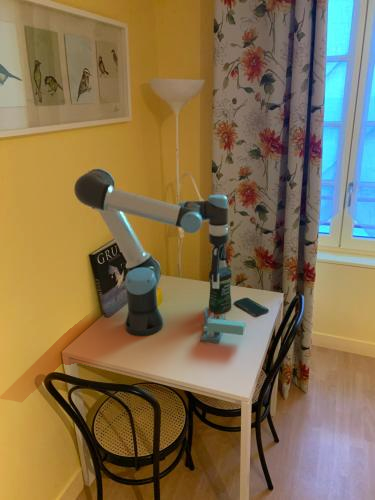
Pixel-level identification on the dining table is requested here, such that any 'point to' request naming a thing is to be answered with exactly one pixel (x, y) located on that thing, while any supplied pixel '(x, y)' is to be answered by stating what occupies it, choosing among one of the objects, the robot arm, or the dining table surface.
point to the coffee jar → (221, 292)
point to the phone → (251, 307)
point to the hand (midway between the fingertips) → (219, 281)
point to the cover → (225, 326)
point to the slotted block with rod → (209, 335)
